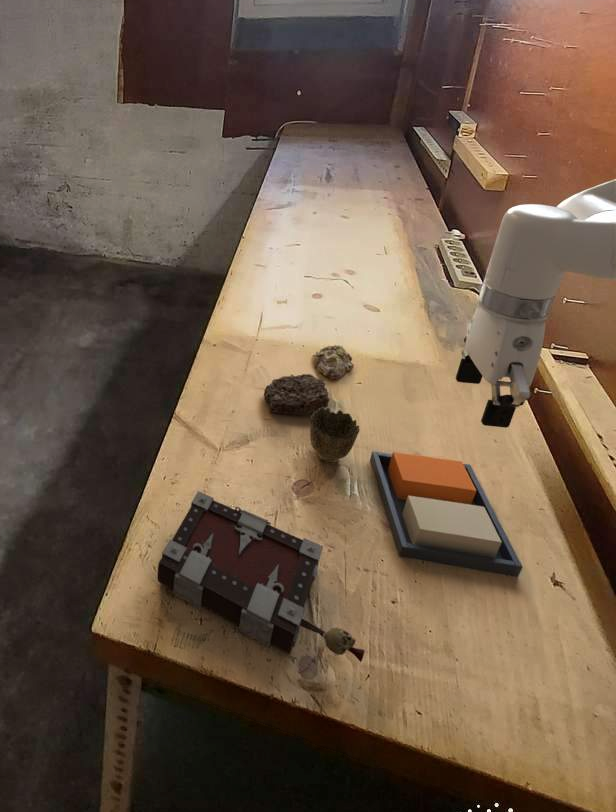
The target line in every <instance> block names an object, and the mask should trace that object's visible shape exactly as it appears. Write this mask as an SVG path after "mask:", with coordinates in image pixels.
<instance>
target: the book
mask: <svg viewBox="0 0 616 812" xmlns="http://www.w3.org/2000/svg"><path fill="white" fill-rule="evenodd" d="M214 499H215V498H214V497H212V496H210V495H208V494H206V493H204V492H201V491H199V490H198V491H197V492H196V494H195V496H194V497H193V499H192V500H191V504H190V507H189V510H188V511H187V513H186V515H185V516H184V518H183V520H182V522H181V523H180V525H179V527H178V528H177V530H176V532H175V534H174V536H173V537H172V539H169V540H168V542H167V544H166V546H165V548H164V549H163V551H162V553H161V554H162V555H161V559H160V560H159V562H158V566H157V583H160V584H161V585H163V586H165V587H167V588H168V589H170V590H172V591H173V592H172V593H173V595H174V596H175V597H178V598H180V599H181V600H183V601H185V602H187V603H189V604H190V605H192V606H195V607H196V608H198V609H199V610H200V609H201V607H203V608H205V609H206V610H208V611H210V612H212V613H213V614H216V615H218V616H219V617H221V618H223V619H225V620H227V621H229V622H230V623H232V624H233V625H236V626H237V627H238V631H239V632H241V633H243V634H245V635H247V637H250V638H252V639H254V640H255V641H257V642H259V643H260V644H263V645H265V646H266V647H268V648H270V645H273V646H274V647H276V648H278V649H280V650H281V651H283V652H285V653H286V654H288V655H291V653H292V649H293V648H295V646H296V643H297V639H298V636H299V632H300V630H301V627H302V628H304V629H306V630H309V631H311V632H314V633H316V634H319V636H321V638H323V639H324V641H325V645H326V647H327V649H328V650H329V651H330V652H332V653H334V654H335V655H337V656H339V655H340V656H341V655H344V654H345V652H346V651H348V652H350V653H351V654H352V655H353V656H354V657H355V658H356V659H357V660H358V661H359V662H360V663H361V662H362V661H363V658H364V655H365V649H362V648H357V647H355V644H356V641H357V640H356V638H355V637H353V635H352V634H351V633H350V632H349V631H346V630H345V629H343V628H341V627H332V628H330V629H329V630H327V631H325V630H323V629H321V628H319V627H318V626H316V625H315V624H313V623H311V622H310V621H308V620H305V618H303V616H304V612H305V605H306V603H307V599H308V596H309V592H310V589H311V585H312V582H313V581H315V578H316V576H317V572H318V569H319V565H320V559H321V555H322V552H323V548H324V546H323V545H321V544H319V543H317V542H314V541H312V540H310V539H307V538H306V537H304V538H303V539H301V538H299V537H297V536H294V535H293V534H290V533H288V532H285V531H283V530H281V529H280V528H277V527H274V526H272V525H271V524H272V523H271V522H270V521H269V520H268V519H266V518H264V517H262V516H259V515H257V514H255V513H252V512H250V511H248V510H245V509H241V507H239V506H236V507H234V508H232V507H229V506H227V505H225V504H222V503H221V502H218V501H216V500H214Z"/></svg>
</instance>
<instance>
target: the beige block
mask: <svg viewBox="0 0 616 812" xmlns="http://www.w3.org/2000/svg"><path fill="white" fill-rule="evenodd" d="M402 515H403V518H404V521H405V524H406V527H407V530H408V533H409V536H410V539H411V542H412V544H415V545H421V546H427V547H433V548H439V549H445V550H451V551H457V552H462V553H468V554H474V555H480V556H486V557H492V558H495V556H496V554H497V552H498V550H499V547H500V545H501V543H502V542H501V540H500V538H499V536H498V534H497V532H496V529H495V527H494V525H493V523H492V521H491V519H490V517H489V515H488V513H487V511H486V509H485V507H482V506H475V505H469V504H462V503H455V502H449V501H442V500H435V499H429V498H422V497H415V496H409V495H408V498H407V501H406V504H405V507H404V510H403V513H402Z"/></svg>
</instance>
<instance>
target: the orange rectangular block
mask: <svg viewBox="0 0 616 812" xmlns="http://www.w3.org/2000/svg"><path fill="white" fill-rule="evenodd" d="M391 454H392V457H391V461H390V464H389V468H388V472H389V475H390V478H391V481H392V484H393V487H394V490H395V493H396V496H397V499H404V500H407V498H408V495H409V496H415V497H422V498H429V499H435V500H442V501H449V502H455V503H462V504H469V505H471V503H472V501H473V498H474V496H475V493H476V489H475V487H474V485H473V483H472V481H471V479H470V477H469V475H468V473H467V471H466V469H465V467H464V465H463V464H464V462H463V461H462V460H455V459H454V460H453V459H446V458H440V457H431V456H425V455H418V454H411V453H410V454H409V453H402V452H395V451H392V453H391Z"/></svg>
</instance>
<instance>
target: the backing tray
mask: <svg viewBox="0 0 616 812" xmlns="http://www.w3.org/2000/svg"><path fill="white" fill-rule="evenodd" d="M392 454H393V453H388V452H387V453H386V452H379V451H378V452H377V451H371V455H370V458H369V462H370V466H371V469H372V473H373V476H374V479H375V483H376V485H377V489H378V492H379V496H380V499H381V502H382V505H383V509H384V512H385V515H386V518H387V523H388V525H389V529H390V532H391V535H392V539H393V542H394V546H395V548H396V552H397V555H398V557H399V558H404V559H409V560H416V561H422V562H428V563H434V564H440V565H444V566H445V565H446V566H451V567H457V568H461V569H469V570H473V571H480V572H486V573H490V574H491V573H492V574H496V575H497V574H498V575H502V576H503V575H504V576H509V577H515V578H519V576H520V574H521V571H522V570H523V565H522V563H521V561H520V559H519V557H518V555H517V553H516V551H515V549H514V547H513V545H512V543H511V541H510V540H509V538H508V536H507V534H506V531H505V530H504V528H503V526H502V524H501V522H500V520H499V517H498V516H497V514H496V512H495V510H494V508H493V507H492V504H491V503H490V501H489V499H488V497H487V494H486V492H485V491H484V489H483V487H482V484H481V483H480V481H479V479H478V477H477V475H476V473H475V471H474V469H473V467H472V465H471V464H470V463H463V465H464V467H465V469H466V471H467V473H468V475H469V477H470V479H471V481H472V483H473V485H474V487H475V489H476V493H475V496H474V498H473V501H472V503H471V505H475V506H482V507H485V509H486V511H487V513H488V515H489V517H490V519H491V521H492V523H493V525H494V527H495V529H496V532H497V534H498V536H499V538H500V540H501V542H502V543H501V545H500V547H499V550H498V552H497V554H496V556H495V558H492V557H486V556H480V555H474V554H468V553H462V552H457V551H451V550H445V549H439V548H433V547H427V546H421V545H415V544H412V542H411V539H410V536H409V533H408V530H407V527H406V524H405V521H404V518H403V515H402V513H403V510H404V507H405V504H406V501H407V500H404V499H397V496H396V493H395V490H394V487H393V484H392V481H391V478H390V475H389V472H388V468H389V464H390V461H391V457H392Z"/></svg>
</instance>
